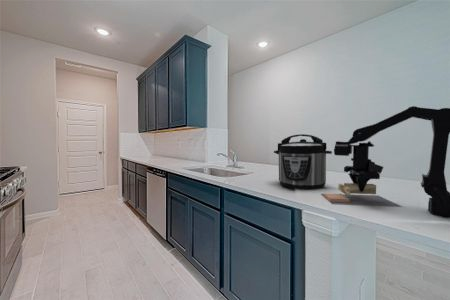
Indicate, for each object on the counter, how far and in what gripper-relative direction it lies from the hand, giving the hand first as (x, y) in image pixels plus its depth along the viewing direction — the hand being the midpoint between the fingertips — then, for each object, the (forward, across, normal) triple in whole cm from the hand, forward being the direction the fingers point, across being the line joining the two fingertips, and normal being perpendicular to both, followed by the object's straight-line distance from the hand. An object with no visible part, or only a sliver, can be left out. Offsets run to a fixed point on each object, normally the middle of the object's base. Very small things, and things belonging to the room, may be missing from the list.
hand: (359, 190), depth 90 cm
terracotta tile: (+4, 0, +6) cm, 7 cm away
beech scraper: (+1, 0, 0) cm, 1 cm away
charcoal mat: (+6, +1, +1) cm, 6 cm away
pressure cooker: (+6, +29, +19) cm, 35 cm away
